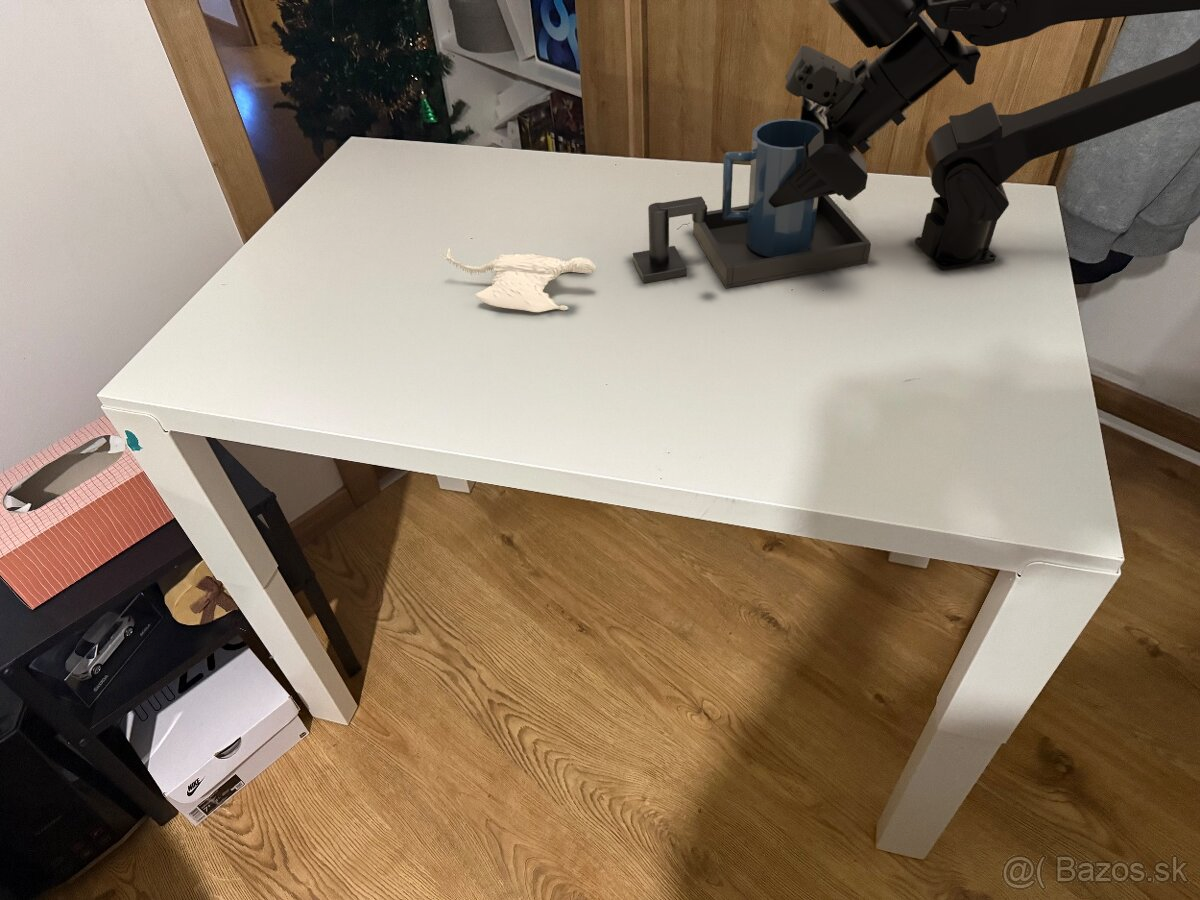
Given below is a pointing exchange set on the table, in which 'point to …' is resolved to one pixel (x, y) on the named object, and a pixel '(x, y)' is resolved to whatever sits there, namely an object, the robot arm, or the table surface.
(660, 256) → the tap
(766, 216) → the mug
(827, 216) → the tray
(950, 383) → the table surface
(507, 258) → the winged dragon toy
